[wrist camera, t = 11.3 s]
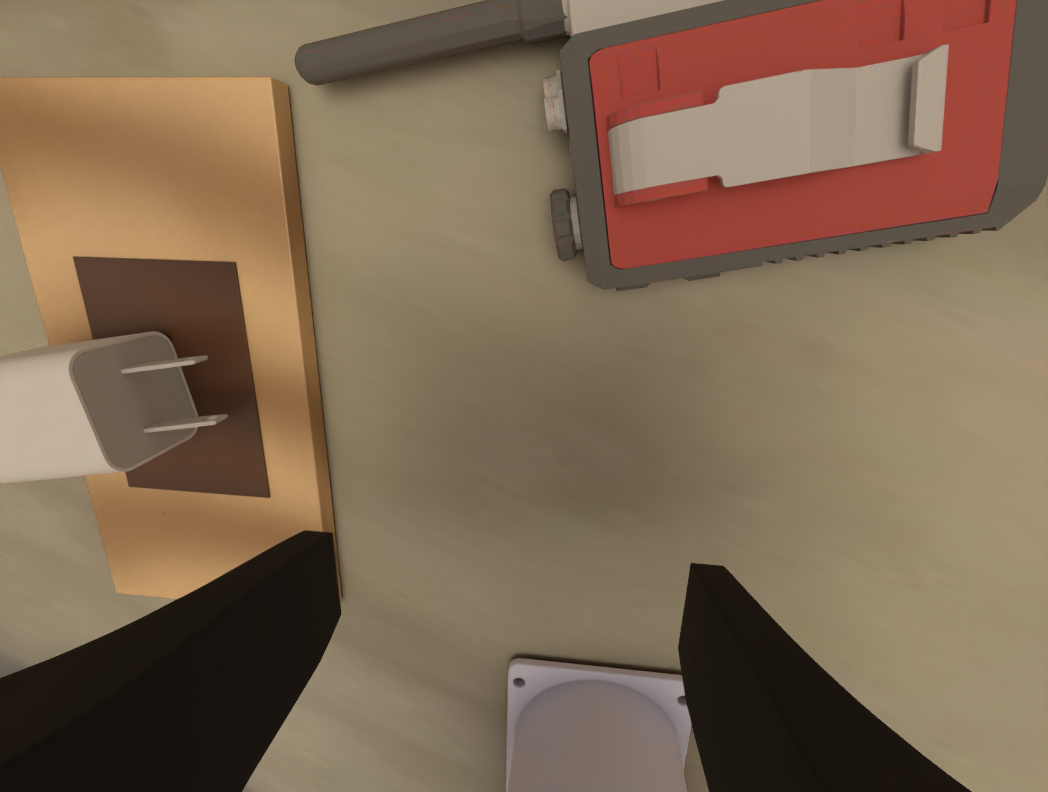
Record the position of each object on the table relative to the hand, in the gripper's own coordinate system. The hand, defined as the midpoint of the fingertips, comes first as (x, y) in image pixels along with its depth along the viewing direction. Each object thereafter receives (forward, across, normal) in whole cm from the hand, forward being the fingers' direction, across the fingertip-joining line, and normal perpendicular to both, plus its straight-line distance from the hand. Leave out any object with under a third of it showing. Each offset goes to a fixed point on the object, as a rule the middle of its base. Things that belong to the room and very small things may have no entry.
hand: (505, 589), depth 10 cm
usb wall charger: (+8, +14, -1) cm, 16 cm away
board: (+9, +14, -1) cm, 16 cm away
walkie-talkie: (+10, -3, -10) cm, 14 cm away
